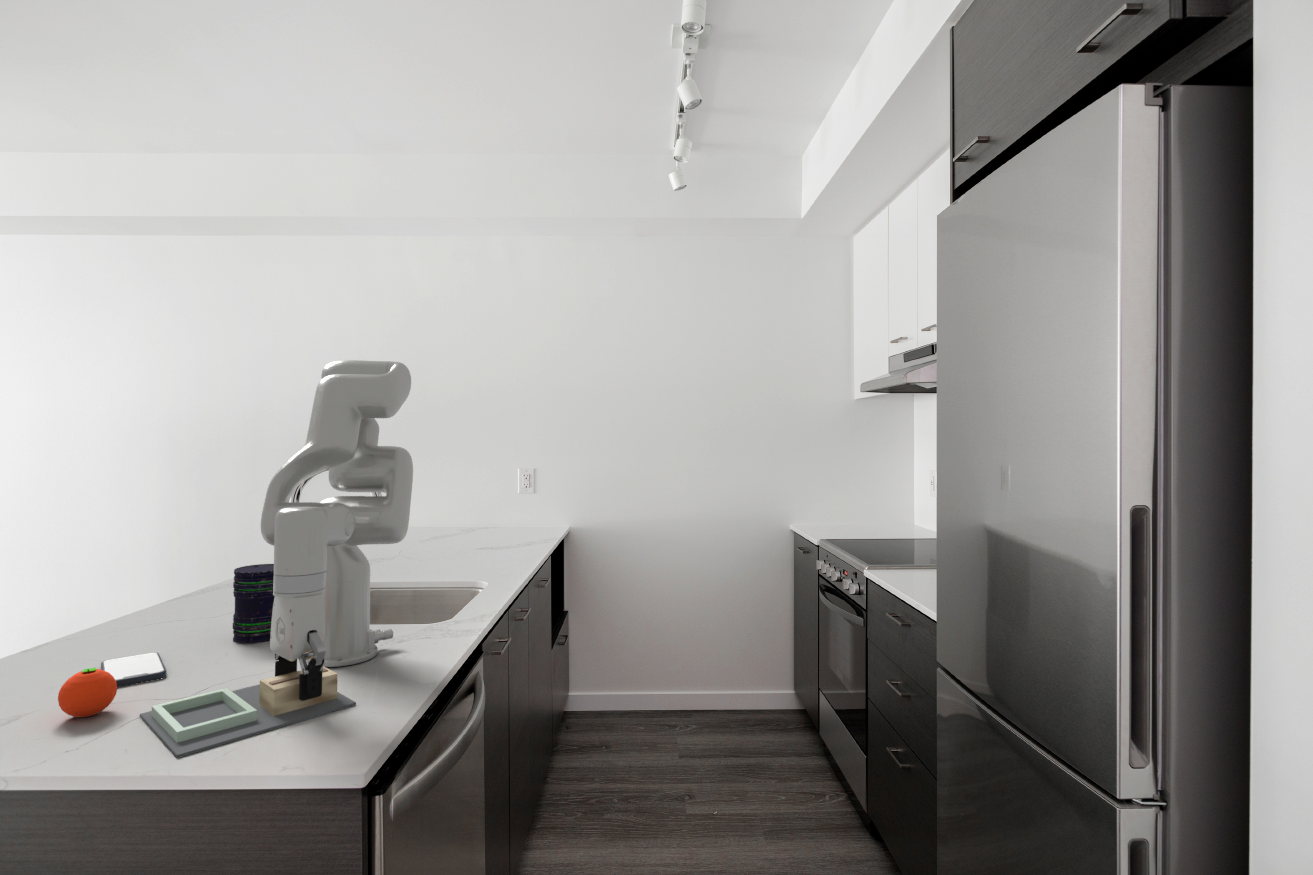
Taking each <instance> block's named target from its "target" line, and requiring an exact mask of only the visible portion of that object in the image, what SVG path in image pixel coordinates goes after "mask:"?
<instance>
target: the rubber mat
mask: <svg viewBox="0 0 1313 875" xmlns="http://www.w3.org/2000/svg"><path fill="white" fill-rule="evenodd" d="M231 691H232V692H233V693H235V694H236V695H237V696H239V697H240V698H241V699H243V700H244V701H245V702H247V703H248V704H249V705H251V706H252V707H253V708H255V709H256V710H257V720H256V721H253V722H249V723H245V724H242V725H238V726H235V727H231V728H228V729H224V730H221V731H217V732H214V733H210V734H207V735H203V736H200V737H196V738H193V739H189V740H185V741H182V742H178V743H176V741H175V740H174V739H173V738H172V737H171V736H170V735H169V734H168V733H167V732H166V731H165V730H164V729H163V728H162V726H161V725H160V724H159V723H158V722H157V721H156V720H155V719H154V718H153V717H152V710H150V711H146V712H141V713H139V717H140V719H141V720H143V722H144V723H145V725H147V726H148V727H149V729H150V730H151V731H152V732H153V734H155V735H156V736H157V738H158V739H159V740H160V741H161V742H162V743H163V744H164V746H165V747H166V748H167V749H168V750H169V751H170V752H171V753H172V754H173V756H174V757H175V758H177V759H178V758H182V757H185V756H189V755H192V754H195V753H198V752H203V751H206V750H210V749H212V748H215V747H219V746H222V745H226V744H229V743H232V742H236V741H239V740H243V739H245V738H249V737H253V736H256V735H259V734H262V733H266V732H269V731H273V730H276V729H279V728H282V727H286V726H288V725H293V724H296V723H299V722H303V721H307V720H309V719H313V718H316V717H320V716H323V715H326V714H330V713H334V712H336V710H337V711H339V710H344V709H347V708H350V707H353V706H352V705H354V706H356V705H357V702H356V701H355V700H353V699H351V698H350V697H347V696H346V695H344V694H342V693H341V692H339V691H337V698H336V699H332V700H329V701H325V702H322V703H318V704H315V705H311V706H308V707H304V708H301V709H297V710H294V711H290V712H286V713H283V714H279V715H276V716H273V715H272V714H270V713H269V712H268V711H266V710H265V709H263V708H262V707H261V706H259V702H260V683H259V684H255V685H251V686H248V687H244V688H239V689H235V690H231ZM355 704H356V705H355ZM349 706H350V707H349ZM346 707H347V708H346ZM333 711H334V712H333ZM236 713H237V712H236V711H235V710H233V709H232V708H231V707H229V706H228V705H227V704H226V703H224V702H223V701H218V702H214V703H210V704H206V705H202V706H198V707H194V708H190V709H186V710H182V711H178V712H174V713H170V715H171V716H172V717H173V718H174V719H175V720H176V721H177V722H178V723H179V724H180V725H181V726H182V727H183V728H184V727H188V726H192V725H195V724H199V723H203V722H207V721H210V720H214V719H218V718H221V717H225V716H229V715H232V714H236ZM319 715H320V716H319Z"/></svg>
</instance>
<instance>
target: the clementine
mask: <svg viewBox="0 0 1313 875" xmlns="http://www.w3.org/2000/svg"><path fill="white" fill-rule="evenodd" d="M117 692H118V687H117V683H116V680H115V679H114V677H113V676H112V675H111V674H110V673H108V672H106V671H104V670H101V669H99V668H96V667H90V668H84V669H83V670H81V671H78V672H76V673H75V674H73V675H72V676H70V677H69V678H67V679H66V681H65V682H64V683H63V684H62V685H61V687H60V689H59V691H58V696H57V702H58V706H59V707H60V709H61V711H62V712H64V713H65V714H66V715H68V716H70V717H73V718H74V717H75V718H87V717H91V716H94V715H97V714H99V713H101V712H103V710H105V709H107V708H108V707H109V706H110V705H111V703H112V702H113V701H114V699H115V697H116V695H117Z"/></svg>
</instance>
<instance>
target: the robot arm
mask: <svg viewBox="0 0 1313 875" xmlns="http://www.w3.org/2000/svg"><path fill="white" fill-rule="evenodd" d="M320 376H321V380H319V382H318V384H317V385H316V390H315V395H314V400H313V404H312V409H311V413H310V419H309V426H308V430H307V435H306V441H305V443H304V446H303V447H302V448H301V449H300V450H299V451H297V452H296V453H295V454H293V455H292V456H290V457H289V459H287V460H286V462H284V463H283V465H282V466H281V467H280V468H279V469H278V470H277V472H276V473H275V474H274V475H273V477H272V479H271V480H270V482H269V484H268V487H267V490H266V494H265V499H264V502H263V507H262V511H261V518H260V532H261V537H262V539H263V541H265V542H266V543H267V544H268V545H271V546H273V548H274V550H273V551H274V552H273V564H274V580H273V595H274V596H275V598H274V603H273V611H272V621H271V635H270V641H269V649H270V651H271V652H272V653H274V660H275V661H274V677H276V676H280V675H284V674H288V673H292V672H296V671H298V662H299V666H300V671H301V670H302V674H300V675H299V700H301V701H304V700H308V699H312V698H316V697H319V696H321V695H322V671H323V666H324V667H326V668H334V667H335V668H337V667H339V668H340V667H346V666H351V665H356V664H357V665H358V664H361V663H363V662H367V661H369V660H371V659H373V658H374V657H376V656H377V655H378V651H379V650H378V649H379V648H378V646H377V645H376V644H378V643H379V641H386V640H390V639H393V638H394V630H393V629H392V628H390V629H389V628H388V629H384V630H381V629H380V628H379V629H371V628H370V624H371V622H370V619H371V618H370V617H371V615H370V614H371V611H370V610H371V609H370V608H371V565H370V562H369V560H368V558H367V557H366V555H365V554H364V552H363V551H362V550H361V549H360V547H359V546H364V545H392V544H393V545H394V544H399V543H401V542H402V541H403V540H404V539H405V538H406V536H407V533H408V530H409V524H410V523H409V522H410V516H411V514H410V512H411V501H412V494H413V493H412V491H413V482H414V481H413V479H414V465H413V459H412V456H411V453H410V452H409V451H408V449H405V448H404V447H401V446H395V445H394V446H393V445H379V438H380V437H379V435H380V426H379V423H378V421H377V420H376V419H390V418H393V417H394V416H395V415H396V414H397V413H398V412H399V410H400V409H401V408H402V406H403V404H404V403H405V402H406V401H407V399H408V397H409V396H410V392H411V388H412V375H411V371H410V370H409V368H408V367H407V365H405V364H404V363H402V362H399V361H385V360H360V359H359V360H358V359H357V360H356V359H355V360H354V359H353V360H351V359H349V360H347V359H346V360H335V361H332V362H329V363H327V364H325V366H323V368H322V370H321V375H320ZM325 471H328V482H329V484H330V486H331V487H332V488H333V490H336V491H338V492H342V493H343V492H345V493H383V494H385V496H384V495H382V496H381V495H380V496H379V495H378V496H376V495H375V496H373V495H371V496H368V495H367V496H365V495H342V496H341V495H340V496H330V497H327V498H324V499H323V500H320V501H319V502H308V501H306V502H304V501H303V502H300V501H298V502H293V501H292V502H290V500H291V498H292V495H294V494H293V493H295V491H296V489H297V488H298V487H299V486H300V485H301V484H302V483H303V482H305V481H306V480H309V479H310V478H312V477H314V476H316V475H318V474H320V473H323V472H325Z"/></svg>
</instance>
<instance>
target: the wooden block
mask: <svg viewBox="0 0 1313 875" xmlns="http://www.w3.org/2000/svg"><path fill="white" fill-rule="evenodd" d="M300 674H302V670H301V669H300V670H297V671H296V672H292V673H288V674H284V675H280V676H276V677H275V676H272V677H269V678H265V679H261V680H259V684H260V702H259V706H261V707H262V708H263V709H265V710H266V711H268V712H269V713H270V714H272V715H273V716H276V715H279V714H283V713H286V712H290V711H294V710H297V709H301V708H304V707H308V706H311V705H315V704H318V703H322V702H325V701H329V700H332V699H336V698H337V692H338V673H337V672H335V671H333V670H331V669H329V667H324V666H323V671H322V695H321V696H319V697H316V698H312V699H308V700H304V701H301V700H299V675H300Z"/></svg>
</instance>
